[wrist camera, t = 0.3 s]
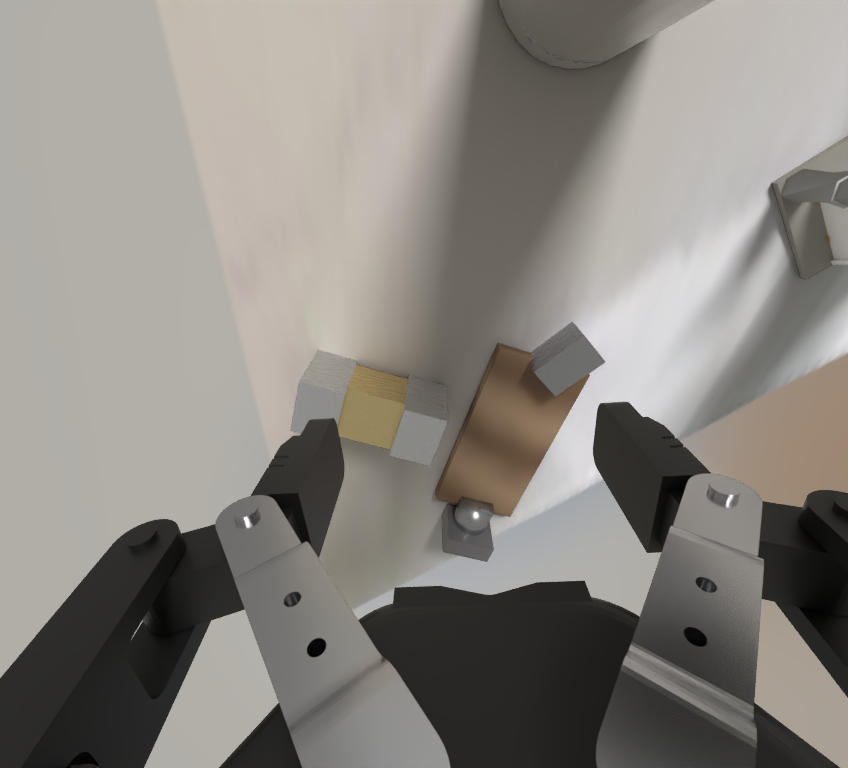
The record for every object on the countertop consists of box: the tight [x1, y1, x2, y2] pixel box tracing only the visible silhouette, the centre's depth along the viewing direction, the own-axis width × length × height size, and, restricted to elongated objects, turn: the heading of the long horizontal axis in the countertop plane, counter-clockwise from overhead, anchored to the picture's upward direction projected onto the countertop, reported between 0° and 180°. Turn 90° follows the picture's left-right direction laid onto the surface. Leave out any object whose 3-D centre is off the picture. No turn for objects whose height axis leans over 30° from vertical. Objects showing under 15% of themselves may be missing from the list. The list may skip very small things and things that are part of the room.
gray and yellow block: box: [290, 350, 448, 466], centre depth 30 cm, size 4×10×5 cm, turn 73°
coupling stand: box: [436, 322, 605, 562], centre depth 32 cm, size 21×7×4 cm, turn 163°
